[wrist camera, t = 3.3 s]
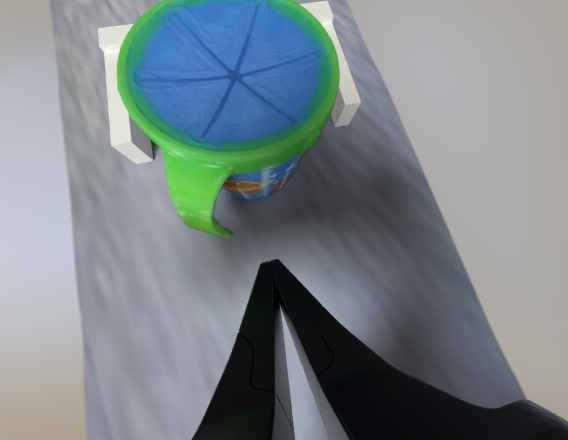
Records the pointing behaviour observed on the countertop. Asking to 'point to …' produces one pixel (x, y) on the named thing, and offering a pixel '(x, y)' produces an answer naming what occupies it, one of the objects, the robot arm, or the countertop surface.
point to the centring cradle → (138, 144)
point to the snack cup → (227, 95)
